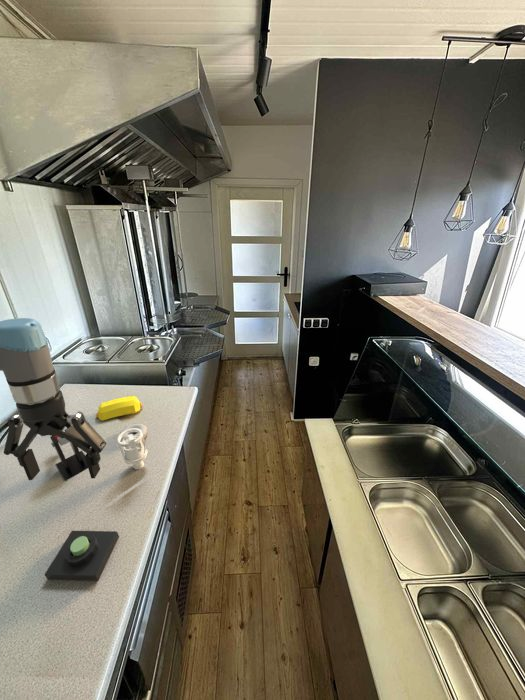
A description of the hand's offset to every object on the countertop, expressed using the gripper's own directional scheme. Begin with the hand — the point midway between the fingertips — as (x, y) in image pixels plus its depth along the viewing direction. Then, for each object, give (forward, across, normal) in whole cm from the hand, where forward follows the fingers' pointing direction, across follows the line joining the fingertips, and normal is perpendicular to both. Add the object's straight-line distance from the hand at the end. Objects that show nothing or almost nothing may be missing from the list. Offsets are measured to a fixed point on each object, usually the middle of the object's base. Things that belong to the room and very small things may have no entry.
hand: (65, 474), depth 66 cm
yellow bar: (+20, +11, -52) cm, 56 cm away
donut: (+20, 0, -37) cm, 42 cm away
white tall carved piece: (+21, -6, -22) cm, 31 cm away
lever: (+14, +19, -27) cm, 35 cm away
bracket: (+22, +16, -24) cm, 36 cm away
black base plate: (+22, -2, +5) cm, 23 cm away
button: (+19, -2, +5) cm, 19 cm away
